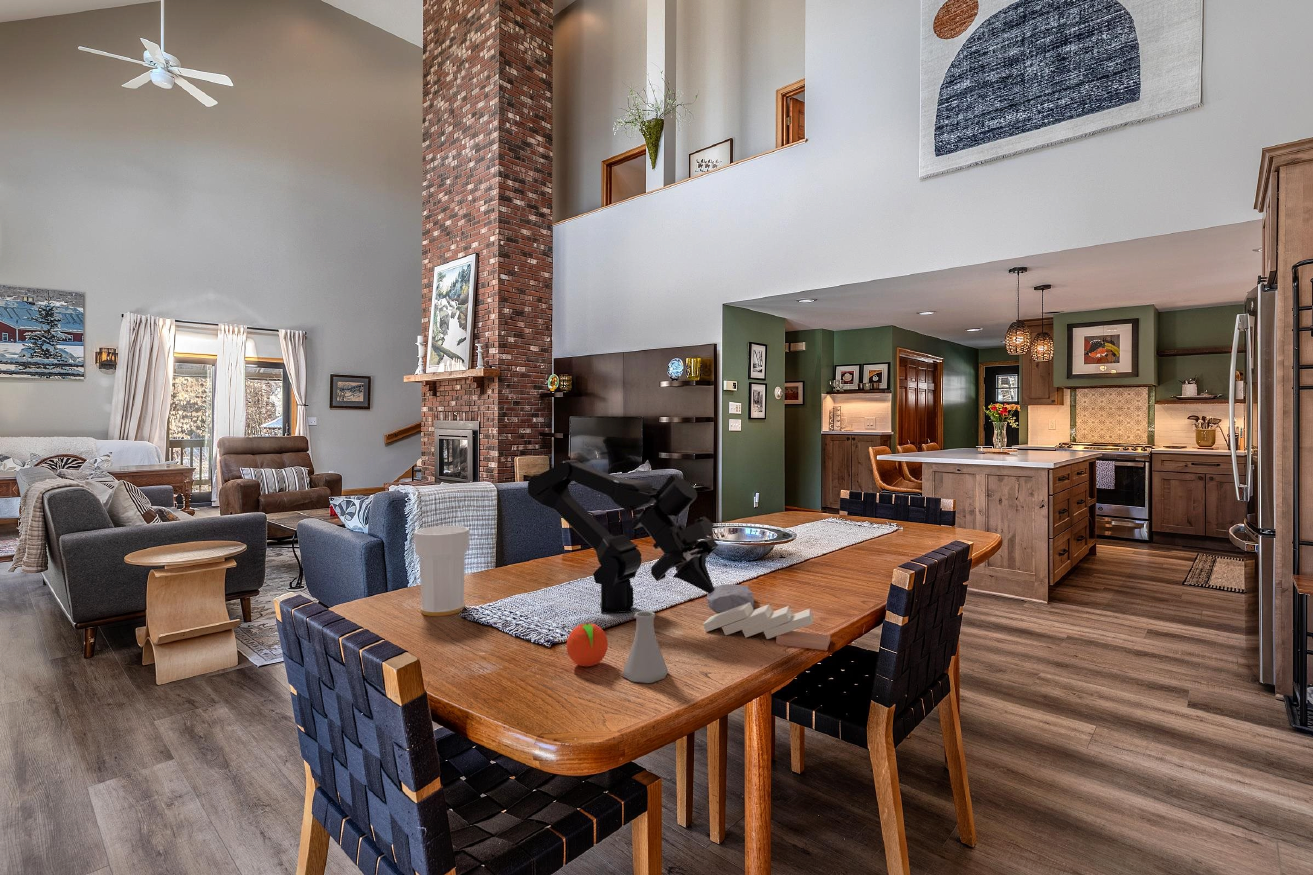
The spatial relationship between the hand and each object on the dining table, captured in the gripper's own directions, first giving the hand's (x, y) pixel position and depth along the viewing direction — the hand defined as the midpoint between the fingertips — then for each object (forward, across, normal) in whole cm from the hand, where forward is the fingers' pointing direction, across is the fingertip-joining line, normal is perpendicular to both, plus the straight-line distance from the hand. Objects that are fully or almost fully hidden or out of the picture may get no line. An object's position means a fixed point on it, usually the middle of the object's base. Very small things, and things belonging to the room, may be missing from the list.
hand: (712, 591), depth 125 cm
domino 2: (+7, 0, +2) cm, 7 cm away
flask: (+6, -26, +4) cm, 27 cm away
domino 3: (+10, 0, -1) cm, 10 cm away
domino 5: (+14, 0, -5) cm, 15 cm away
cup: (-34, -20, +44) cm, 59 cm away
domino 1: (+4, -1, +5) cm, 6 cm away
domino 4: (+12, +1, -3) cm, 13 cm away
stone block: (+3, +16, +8) cm, 18 cm away
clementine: (-1, -28, +11) cm, 31 cm away
